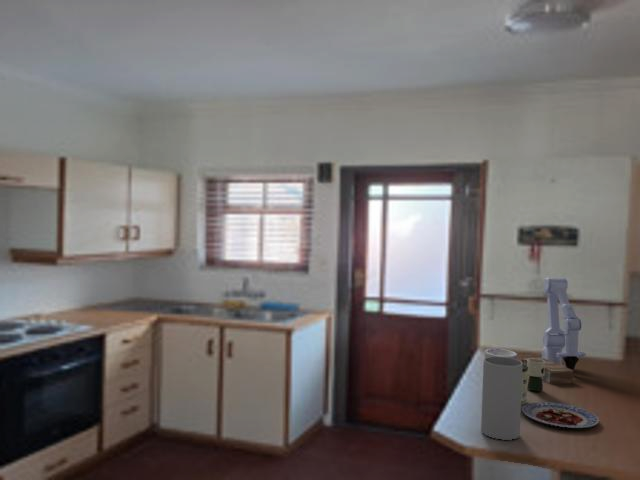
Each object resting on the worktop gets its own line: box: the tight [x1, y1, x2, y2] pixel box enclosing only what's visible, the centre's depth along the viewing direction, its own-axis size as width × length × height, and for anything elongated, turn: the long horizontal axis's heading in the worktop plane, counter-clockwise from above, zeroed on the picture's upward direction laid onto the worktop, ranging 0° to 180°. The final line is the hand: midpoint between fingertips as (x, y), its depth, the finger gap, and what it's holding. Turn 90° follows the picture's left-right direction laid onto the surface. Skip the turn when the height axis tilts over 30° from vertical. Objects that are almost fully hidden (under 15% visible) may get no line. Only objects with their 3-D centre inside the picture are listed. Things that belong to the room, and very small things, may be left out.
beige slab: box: [521, 357, 574, 385], centre depth 263 cm, size 22×11×6 cm, turn 14°
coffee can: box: [521, 365, 528, 405], centre depth 227 cm, size 10×10×14 cm
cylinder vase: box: [480, 357, 523, 441], centre depth 191 cm, size 12×12×25 cm
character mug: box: [527, 357, 545, 392], centre depth 241 cm, size 11×7×13 cm, turn 157°
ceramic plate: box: [522, 401, 600, 429], centre depth 207 cm, size 26×26×3 cm
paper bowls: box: [484, 348, 518, 360], centre depth 276 cm, size 15×15×8 cm
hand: (570, 372), depth 266 cm, fingers closed
